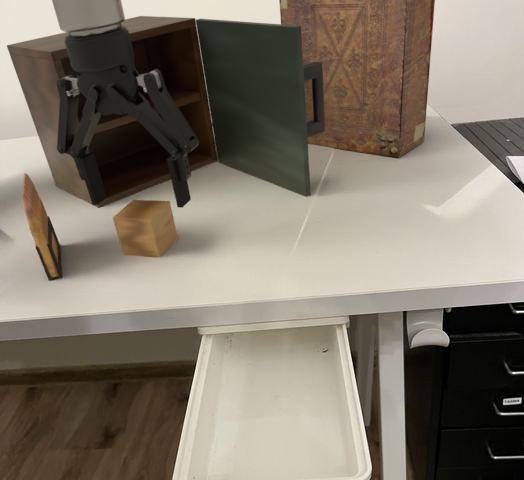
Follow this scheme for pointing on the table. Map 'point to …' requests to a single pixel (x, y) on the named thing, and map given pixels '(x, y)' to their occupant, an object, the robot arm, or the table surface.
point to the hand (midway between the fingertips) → (141, 202)
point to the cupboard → (124, 126)
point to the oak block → (146, 228)
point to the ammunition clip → (42, 230)
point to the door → (261, 99)
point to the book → (367, 70)
